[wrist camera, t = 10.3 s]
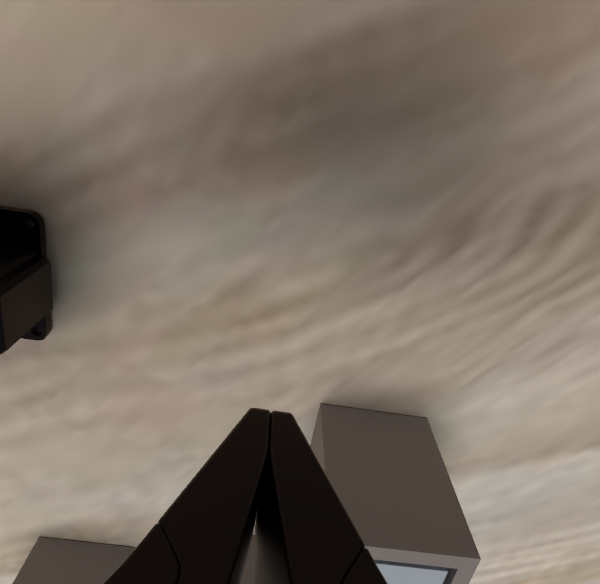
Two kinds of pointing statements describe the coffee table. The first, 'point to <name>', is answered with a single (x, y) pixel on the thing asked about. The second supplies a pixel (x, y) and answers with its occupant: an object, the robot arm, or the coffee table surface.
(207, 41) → the coffee table surface
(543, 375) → the coffee table surface
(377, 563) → the slate-blue button
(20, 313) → the robot arm
